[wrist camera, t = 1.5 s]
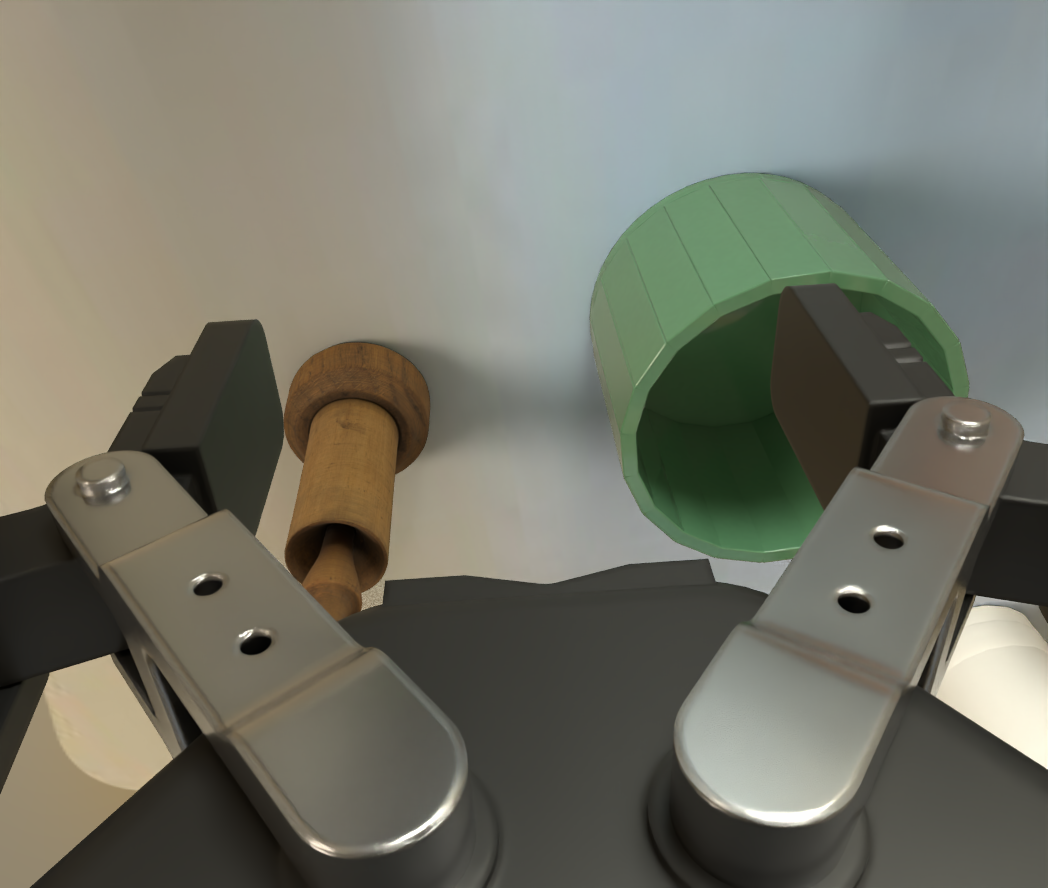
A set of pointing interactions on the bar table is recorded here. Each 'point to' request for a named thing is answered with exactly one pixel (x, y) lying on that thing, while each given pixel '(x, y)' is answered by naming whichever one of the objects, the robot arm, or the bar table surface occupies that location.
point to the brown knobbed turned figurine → (350, 466)
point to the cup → (732, 353)
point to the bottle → (1001, 679)
